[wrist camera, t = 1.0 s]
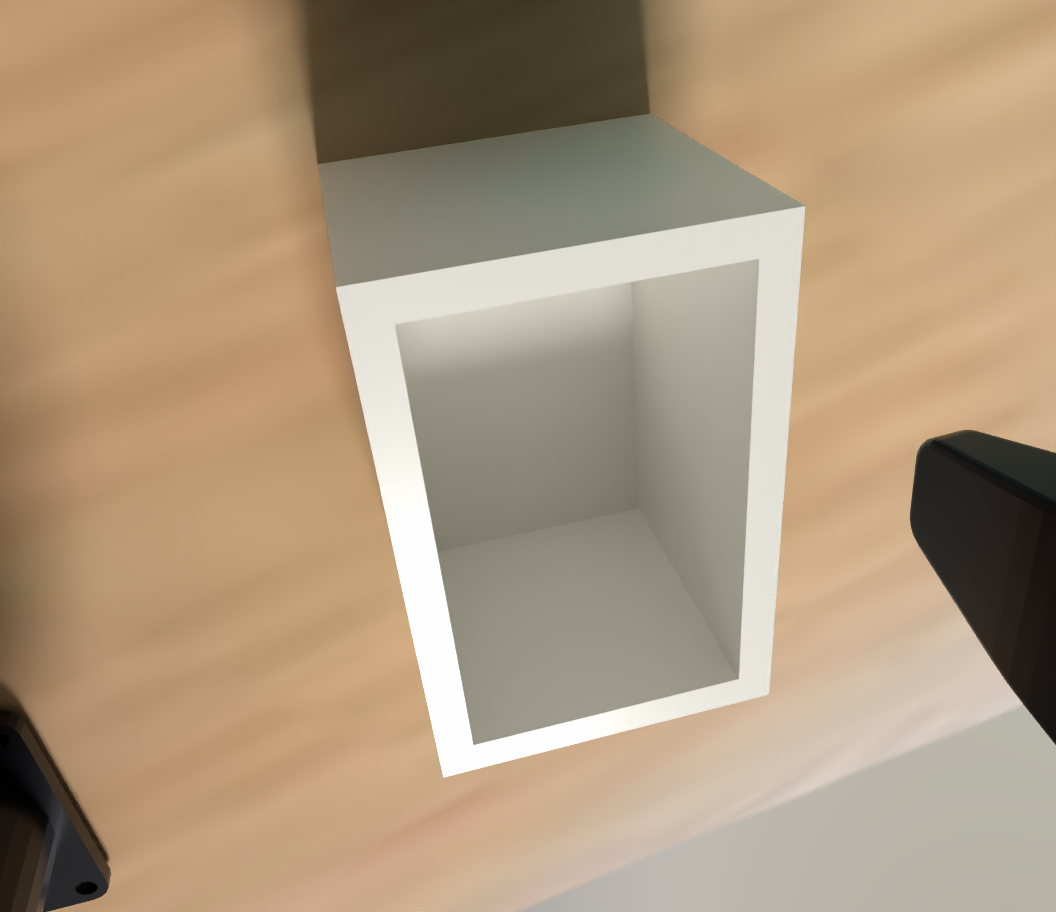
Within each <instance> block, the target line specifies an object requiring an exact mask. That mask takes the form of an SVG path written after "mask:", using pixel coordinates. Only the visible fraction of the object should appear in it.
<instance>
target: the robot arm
mask: <svg viewBox="0 0 1056 912" xmlns="http://www.w3.org/2000/svg"><path fill="white" fill-rule="evenodd" d="M910 522H911V528H912V532H913V535H914V537H915V539H916V542H917V543H918V545H919V547H920V548H921V550H922V552H923V553H924V555H925V556H926V558H927V559H928V561H929V563H930V564H931V566H932V567H933V569H934V570H935V572H936V574H937V575H938V577H939V578H940V580H941V581H942V583H943V585H944V586H945V588H946V589H947V591H948V592H949V594H950V596H951V597H952V599H953V600H954V602H955V603H956V605H957V606H958V608H959V610H960V611H961V613H962V614H963V616H964V617H965V619H966V621H967V622H968V624H969V625H970V627H971V628H972V630H973V632H974V633H975V635H976V636H977V638H978V639H979V641H980V643H981V644H982V646H983V647H984V649H985V650H986V652H987V654H988V655H989V657H990V658H991V660H992V661H993V663H994V664H995V666H996V667H997V669H998V670H999V672H1000V673H1001V674H1002V676H1003V677H1004V679H1005V680H1006V682H1007V683H1008V684H1009V686H1010V687H1011V688H1012V690H1013V691H1014V692H1015V694H1016V695H1017V696H1018V698H1019V699H1020V700H1021V702H1022V703H1023V704H1024V706H1025V707H1026V708H1027V709H1028V711H1029V712H1030V713H1031V714H1032V716H1033V717H1034V718H1035V719H1036V721H1037V722H1038V723H1039V724H1040V726H1041V727H1042V728H1043V730H1044V731H1045V732H1046V733H1047V735H1049V737H1050V738H1051V739H1052V741H1053V742H1054V743H1055V745H1056V453H1054V452H1050V451H1047V450H1043V449H1040V448H1036V447H1032V446H1029V445H1025V444H1021V443H1018V442H1014V441H1011V440H1007V439H1003V438H1000V437H996V436H992V435H989V434H985V433H981V432H978V431H974V430H962V431H957V432H953V433H950V434H946V435H942V436H938V437H935V438H931V439H928V440H927V441H925V442H924V443H923V444H922V445H921V446H920V448H919V450H918V452H917V457H916V465H915V474H914V482H913V491H912V500H911V509H910ZM0 733H2V734H5V735H0V912H48V911H52V910H56V909H59V908H63V907H67V906H71V905H75V904H79V903H83V902H87V901H91V900H94V899H97V898H99V897H101V896H103V895H104V894H105V893H106V892H107V890H108V887H109V882H110V876H111V872H110V868H109V866H108V864H107V863H106V861H105V859H104V858H103V856H102V854H101V852H100V851H99V849H98V847H97V845H96V844H95V842H94V840H93V839H92V837H91V835H90V833H89V832H88V830H87V828H86V826H85V825H84V823H83V821H82V819H81V818H80V816H79V814H78V813H77V811H76V809H75V807H74V806H73V804H72V802H71V800H70V799H69V797H68V795H67V793H66V792H65V790H64V788H63V787H62V785H61V783H60V781H59V780H58V778H57V776H56V774H55V773H54V771H53V769H52V768H51V766H50V764H49V762H48V761H47V759H46V757H45V755H44V754H43V752H42V750H41V748H40V747H39V745H38V743H37V742H36V740H35V738H34V736H33V735H32V733H31V731H30V729H29V728H28V726H27V724H26V723H25V721H24V720H23V719H22V718H21V717H20V716H19V715H17V714H15V713H13V712H10V711H3V710H0Z"/></svg>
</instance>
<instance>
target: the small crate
mask: <svg viewBox="0 0 1056 912" xmlns="http://www.w3.org/2000/svg"><path fill="white" fill-rule="evenodd" d="M318 171H319V178H320V185H321V191H322V198H323V205H324V211H325V218H326V225H327V232H328V238H329V245H330V252H331V259H332V265H333V272H334V279H335V286H336V291H337V295H338V300H339V304H340V309H341V313H342V318H343V323H344V327H345V332H346V336H347V341H348V345H349V350H350V354H351V359H352V363H353V368H354V373H355V377H356V382H357V386H358V391H359V395H360V400H361V404H362V409H363V413H364V418H365V423H366V427H367V432H368V436H369V441H370V445H371V450H372V454H373V459H374V463H375V468H376V473H377V477H378V482H379V486H380V491H381V495H382V500H383V504H384V509H385V513H386V518H387V523H388V527H389V532H390V536H391V541H392V545H393V550H394V554H395V559H396V563H397V568H398V572H399V577H400V582H401V586H402V591H403V595H404V600H405V604H406V609H407V613H408V618H409V622H410V627H411V632H412V636H413V641H414V645H415V650H416V654H417V659H418V663H419V668H420V672H421V677H422V682H423V686H424V691H425V695H426V700H427V704H428V709H429V713H430V718H431V722H432V727H433V732H434V736H435V741H436V745H437V750H438V754H439V759H440V763H441V768H442V772H443V777H446V776H450V775H454V774H458V773H462V772H466V771H470V770H474V769H478V768H482V767H486V766H490V765H494V764H498V763H501V762H505V761H509V760H513V759H517V758H521V757H525V756H529V755H533V754H537V753H541V752H545V751H549V750H553V749H557V748H560V747H564V746H568V745H572V744H576V743H580V742H584V741H588V740H592V739H596V738H600V737H604V736H608V735H612V734H616V733H619V732H623V731H627V730H631V729H635V728H639V727H643V726H647V725H651V724H655V723H659V722H663V721H667V720H671V719H675V718H679V717H682V716H686V715H690V714H694V713H698V712H702V711H706V710H710V709H714V708H718V707H722V706H726V705H730V704H734V703H738V702H741V701H745V700H749V699H753V698H757V697H761V696H765V695H769V685H770V672H771V658H772V645H773V631H774V618H775V605H776V591H777V578H778V564H779V551H780V538H781V524H782V511H783V497H784V484H785V471H786V457H787V444H788V430H789V417H790V404H791V390H792V377H793V363H794V350H795V336H796V323H797V310H798V296H799V283H800V269H801V256H802V243H803V229H804V216H805V206H804V205H802V204H801V203H799V202H797V201H796V200H794V199H792V198H791V197H789V196H787V195H786V194H784V193H782V192H781V191H779V190H777V189H776V188H774V187H772V186H771V185H769V184H767V183H766V182H764V181H762V180H760V179H759V178H757V177H755V176H754V175H752V174H750V173H749V172H747V171H745V170H744V169H742V168H740V167H739V166H737V165H735V164H734V163H732V162H730V161H729V160H727V159H725V158H724V157H722V156H720V155H719V154H717V153H715V152H714V151H712V150H710V149H709V148H707V147H705V146H703V145H702V144H700V143H698V142H697V141H695V140H693V139H692V138H690V137H688V136H687V135H685V134H683V133H682V132H680V131H678V130H677V129H675V128H673V127H672V126H670V125H668V124H667V123H665V122H663V121H662V120H660V119H658V118H657V117H655V116H653V115H652V114H644V115H637V116H631V117H624V118H618V119H611V120H604V121H598V122H591V123H585V124H578V125H572V126H565V127H559V128H552V129H545V130H539V131H532V132H526V133H519V134H513V135H506V136H500V137H493V138H486V139H480V140H473V141H467V142H460V143H454V144H447V145H441V146H434V147H427V148H421V149H414V150H408V151H401V152H395V153H388V154H382V155H375V156H368V157H362V158H355V159H349V160H342V161H336V162H329V163H322V164H318Z"/></svg>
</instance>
